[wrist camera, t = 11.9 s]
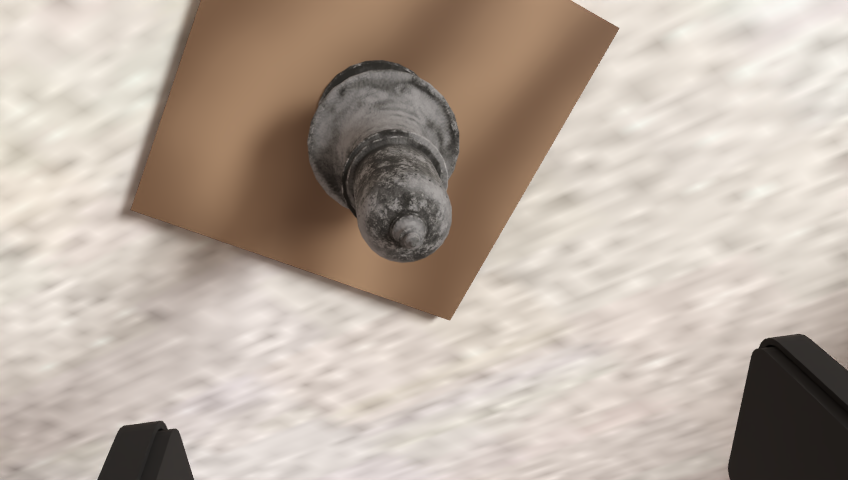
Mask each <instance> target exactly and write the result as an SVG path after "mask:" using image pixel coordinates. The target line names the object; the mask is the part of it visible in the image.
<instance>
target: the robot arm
mask: <svg viewBox="0 0 848 480" xmlns="http://www.w3.org/2000/svg"><path fill="white" fill-rule="evenodd" d="M728 472H729V477H730V480H848V371H847V370H846V369H845V368H844V367H843V366H842V365H840V364H839V363H838V362H837V361H836V360H834V359H833V358H832V357H831V356H830V355H829V354H827V353H826V352H825V351H824V350H823V349H821V348H820V347H819V346H818V345H817V344H816V343H814V342H813V341H812V340H811V339H810V338H808V337H806V336H805V335H801V334H795V335H787V336H780V337H773V338H767V339H764V340H763V341H762V342H761V344H760V347H759V348H758V349H755V350H754V351H753V353H752V356H751V360H750V365H749V370H748V374H747V379H746V384H745V389H744V393H743V398H742V403H741V407H740V412H739V417H738V422H737V426H736V431H735V436H734V440H733V445H732V450H731V455H730V459H729V464H728ZM98 480H194V478H193V475H192V472H191V468H190V465H189V462H188V459H187V455H186V452H185V449H184V446H183V443H182V439H181V436H180V433H179V431H178V430H177V429H169V430H168V429H167V427H166V425H165V423H164V422H163V421H156V422H148V423H141V424H134V425H126V426H123V427H121V428H120V429H119V431H118V433H117V435H116V437H115V440H114V442H113V444H112V447H111V449H110V451H109V454H108V456H107V458H106V461H105V463H104V465H103V468H102V470H101V472H100V475H99V477H98Z"/></svg>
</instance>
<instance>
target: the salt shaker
mask: <svg viewBox="0 0 848 480" xmlns="http://www.w3.org/2000/svg"><path fill="white" fill-rule="evenodd" d="M307 145H308V154H309V162H310V165H311V167H312V170H313V172H314V175H315V177H316V180H317V181H318V182H319V184H320V185H321V186H322V188H323V189H324V190H325V192H326V193H327V194H328V195H329V196H330V197H331V198H333V199H334V200H335V201H337V202H338V203H339V204H340V205H342V206H343V207H345V208H348V209H350V211H351V212H352V214H353V215H354V216H355V217H356V218H357V223H358V228H359V230H360V233H361V236H362V238H363V239H364V240H365V242H366V243H367V244H368V246H369V247H370V248H371V250H373V251H374V252H375V253H376V254H378V255H379V256H380V257H383V258H385V259H387V260H390V261H394V262H400V263H405V262H415V261H418V260H421V259H424V258H426V257H427V256H429V255H431V254H432V253H434V252H435V251H436V250H437V249H438V248H439V247H440V246H441V245H442V244H443V242H444V241H445V239H446V237H447V236H448V234H449V230H450V226H451V222H452V207H451V203H450V200H449V196H448V194H447V192H446V191H447V188H448V180H449V178H450V177H451V175H452V173H453V171H454V169H455V166H456V162H457V158H458V155H459V129H458V126H457V122H456V118H455V114H454V113H453V111H452V109H451V108H450V106H449V104H448V103H447V101H446V99H445V98H444V96H443V95H441V94H440V93H439V92H438V91H437V90H436V89H435V88H434V87H433V86H432V85H431V84H430V83H428V82H426V81H425V80H423V79H421V78H420V77H419V76H417V75H416V74H415V73H414V72H413V71H412V70H410V69H408V68H406V67H404V66H402V65H400V64H398V63H394V62H389V61H385V60H373V61H364V62H361V63H358V64H355V65H352V66H350V67H348V68H346V69H345V70H343V71H342V72H340V73H339V74H337V75H336V76H335V77H334V79H333V80H332V81H331V82H330V83H329V84H328V85H327V87H326V88H325V90H324V92H323V94H322V96H321V98H320V100H319V104H318V108H317V110H316V112H315V114H314V116H313V118H312V120H311V123H310V129H309V134H308V140H307Z"/></svg>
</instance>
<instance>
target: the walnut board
mask: <svg viewBox="0 0 848 480" xmlns="http://www.w3.org/2000/svg"><path fill="white" fill-rule="evenodd" d="M618 30H619V28H618V27H616V26H615V25H613V24H611V23H609V22H608V21H606V20H604V19H602V18H601V17H599V16H597V15H595V14H594V13H592V12H590V11H588V10H587V9H585V8H583V7H581V6H580V5H578V4H576V3H574V2H573V1H571V0H201V1H200V4H199V7H198V10H197V13H196V16H195V19H194V22H193V25H192V28H191V31H190V34H189V37H188V40H187V43H186V46H185V49H184V52H183V55H182V58H181V61H180V64H179V67H178V70H177V73H176V76H175V79H174V82H173V85H172V88H171V91H170V94H169V97H168V100H167V103H166V106H165V109H164V112H163V115H162V118H161V121H160V124H159V127H158V130H157V133H156V136H155V139H154V142H153V144H152V147H151V150H150V153H149V156H148V159H147V162H146V165H145V168H144V171H143V174H142V177H141V180H140V183H139V186H138V189H137V192H136V195H135V198H134V201H133V204H132V207H131V210H132V211H135V212H138V213H141V214H144V215H147V216H149V217H152V218H155V219H158V220H161V221H164V222H167V223H170V224H173V225H175V226H178V227H181V228H184V229H187V230H190V231H193V232H196V233H199V234H201V235H204V236H207V237H210V238H213V239H216V240H219V241H222V242H225V243H227V244H230V245H233V246H236V247H239V248H242V249H245V250H248V251H251V252H254V253H256V254H259V255H262V256H265V257H268V258H271V259H274V260H277V261H280V262H282V263H285V264H288V265H291V266H294V267H297V268H300V269H303V270H306V271H308V272H311V273H314V274H317V275H320V276H323V277H326V278H329V279H332V280H334V281H337V282H340V283H343V284H346V285H349V286H352V287H355V288H358V289H360V290H363V291H366V292H369V293H372V294H375V295H378V296H381V297H384V298H386V299H389V300H392V301H395V302H398V303H401V304H404V305H407V306H410V307H412V308H415V309H418V310H421V311H424V312H427V313H430V314H433V315H436V316H438V317H441V318H444V319H447V320H451V318H452V316H453V314H454V313H455V311H456V309H457V308H458V306H459V304H460V302H461V301H462V299H463V297H464V295H465V294H466V292H467V290H468V289H469V287H470V285H471V283H472V282H473V280H474V278H475V276H476V275H477V273H478V271H479V270H480V268H481V266H482V264H483V263H484V261H485V259H486V258H487V256H488V254H489V252H490V251H491V249H492V247H493V245H494V244H495V242H496V240H497V239H498V237H499V235H500V233H501V232H502V230H503V228H504V226H505V225H506V223H507V221H508V220H509V218H510V216H511V214H512V213H513V211H514V209H515V208H516V206H517V204H518V202H519V201H520V199H521V197H522V195H523V194H524V192H525V190H526V189H527V187H528V185H529V183H530V182H531V180H532V178H533V176H534V175H535V173H536V171H537V170H538V168H539V166H540V164H541V163H542V161H543V159H544V157H545V156H546V154H547V152H548V151H549V149H550V147H551V145H552V144H553V142H554V140H555V139H556V137H557V135H558V133H559V132H560V130H561V128H562V126H563V125H564V123H565V121H566V120H567V118H568V116H569V114H570V113H571V111H572V109H573V107H574V106H575V104H576V102H577V101H578V99H579V97H580V95H581V94H582V92H583V90H584V89H585V87H586V85H587V83H588V82H589V80H590V78H591V76H592V75H593V73H594V71H595V70H596V68H597V66H598V64H599V63H600V61H601V59H602V57H603V56H604V54H605V52H606V51H607V49H608V47H609V45H610V44H611V42H612V40H613V39H614V37H615V35H616V33H617V32H618ZM373 60H385V61H389V62H394V63H398V64H400V65H402V66H404V67H406V68H408V69H410V70H412V71H413V72H414V73H415V74H416V75H417V76H419V77H420V78H421V79H423V80H425V81H426V82H428V83H430V84H431V85H432V86H433V87H434V88H435V89H436V90H437V91H438V92H439V93H440V94H441V95H443V96H444V98H445V99H446V101H447V103H448V104H449V106H450V108H451V109H452V111H453V113H454V114H455V118H456V122H457V126H458V129H459V155H458V158H457V162H456V166H455V169H454V171H453V173H452V175H451V177H450V178H449V180H448V188H447V191H446V192H447V194H448V196H449V200H450V203H451V207H452V222H451V226H450V230H449V234H448V236H447V237H446V239H445V241H444V242H443V244H442V245H441V246H440V247H439V248H438V249H437V250H436V251H435V252H434V253H432V254H431V255H429V256H427V257H426V258H424V259H421V260H418V261H415V262H405V263H400V262H394V261H390V260H387V259H385V258H383V257H380V256H379V255H378V254H376V253H375V252H374V251H373V250H371V248H370V247H369V246H368V244H367V243H366V242H365V240H364V239H363V238H362V236H361V233H360V230H359V228H358V223H357V218H356V217H355V216H354V215H353V214H352V212H351V211H350V209H348V208H345V207H343V206H342V205H340V204H339V203H338V202H337V201H335V200H334V199H333V198H331V197H330V196H329V195H328V194H327V193H326V192H325V190H324V189H323V188H322V186H321V185H320V184H319V182H318V181H317V180H316V177H315V175H314V172H313V170H312V167H311V165H310V162H309V154H308V145H307V140H308V134H309V129H310V123H311V120H312V118H313V116H314V114H315V112H316V110H317V108H318V104H319V100H320V98H321V96H322V94H323V92H324V90H325V88H326V87H327V85H328V84H329V83H330V82H331V81H332V80H333V79H334V77H335V76H336V75H337V74H339V73H340V72H342V71H343V70H345V69H346V68H348V67H350V66H352V65H355V64H358V63H361V62H364V61H373Z"/></svg>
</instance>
